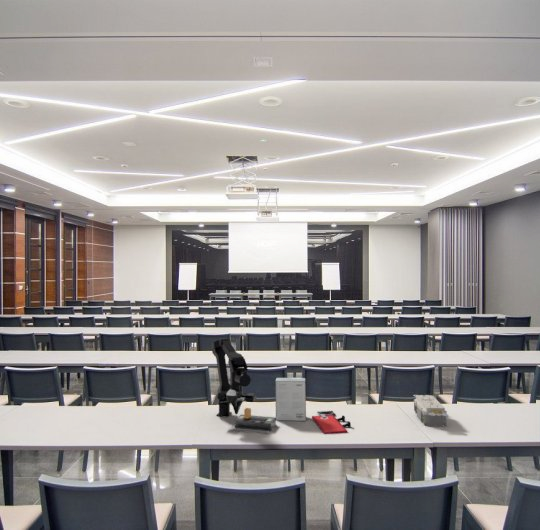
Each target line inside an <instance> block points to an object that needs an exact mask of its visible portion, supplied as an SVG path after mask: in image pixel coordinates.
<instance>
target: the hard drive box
mask: <svg viewBox="0 0 540 530" xmlns="http://www.w3.org/2000/svg"><path fill="white" fill-rule="evenodd" d="M274 383H275V390H274V392H275V418H276V421H295V422H301V421H302V422H303V421H304V422H305V421H306V420H307V407H306V405H307V402H306V401H307V398H306V397H307V396H306V395H307V394H306V393H307V390H306V389H307V388H306V387H307V386H306V385H307V384H306V378H305V377H276V379H275V382H274Z"/></svg>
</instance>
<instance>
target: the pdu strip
mask: <svg viewBox="0 0 540 530" xmlns="http://www.w3.org/2000/svg"><path fill="white" fill-rule="evenodd" d="M276 425H277V420H276V417H272V416H260V415H253V414H251V417H250V418H249V419H248V418H244V414H240V415H238V417H237V418H235V419H234V428H235V427H243V428H253V429H263V430H268V432H272V431H273V429H274V428H275V427H276Z"/></svg>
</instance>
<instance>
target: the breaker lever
mask: <svg viewBox="0 0 540 530" xmlns="http://www.w3.org/2000/svg"><path fill="white" fill-rule="evenodd" d="M243 411H244V412H243V413H244V414H243V415H244V418H248V419H249V418H250V417H251V415H252V408H250V407H245V408H244V410H243Z"/></svg>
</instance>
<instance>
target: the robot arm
mask: <svg viewBox="0 0 540 530" xmlns="http://www.w3.org/2000/svg"><path fill="white" fill-rule="evenodd" d="M210 349H211V351H212V352H211V353H212V355H213V356H214V357H215V359H216V366H217V372H218V380H219V381H218V382H219V385H218V388H217V394H216V396H215V398H214V403H215V404H217V405H218V412H217V414H216V416H217V417H227V418H228V417H229V416H231V415H232V414H233V412H232V411H231V407H230V406H232V408H233V410H234V414H235V415H238V414H239V411H240V409H241V406H242V404H243V402H244V401H246V402H248V403H253V402H255V401H256V400H257V394H256V393H254V392H252V393H251V392H248V393H247V394H244V391H243V387H248V386H249V385H250V384H251V380H252V379H251V376H250V375H249V374H248V368H249V367H248V365H247V362H246V359H245V358H244V356H243V355H242V354H241V353H238V352H237V350H236V349H235V348H234V346H233V345H232V343H231V340H230V338H227V337H226V338H220V339H218V340H213V341H212V342H211V344H210ZM226 357H227V358H228V362H226ZM227 364H228V366H229V368H230V370H229V371H230V381H229V376H228V368H227ZM229 382H230V383H229Z"/></svg>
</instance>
